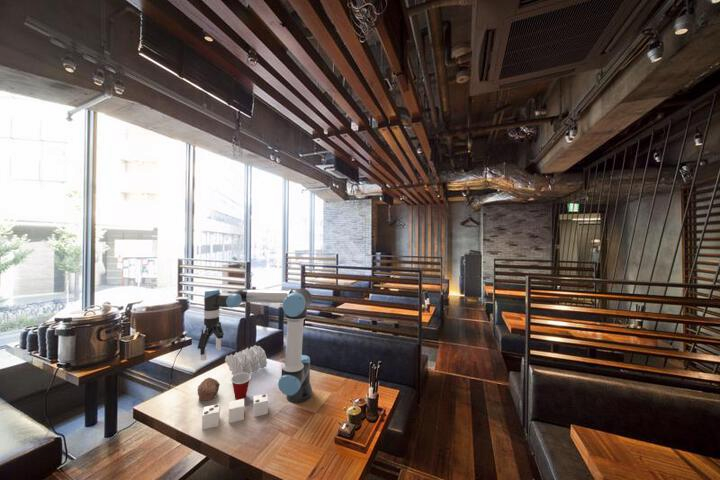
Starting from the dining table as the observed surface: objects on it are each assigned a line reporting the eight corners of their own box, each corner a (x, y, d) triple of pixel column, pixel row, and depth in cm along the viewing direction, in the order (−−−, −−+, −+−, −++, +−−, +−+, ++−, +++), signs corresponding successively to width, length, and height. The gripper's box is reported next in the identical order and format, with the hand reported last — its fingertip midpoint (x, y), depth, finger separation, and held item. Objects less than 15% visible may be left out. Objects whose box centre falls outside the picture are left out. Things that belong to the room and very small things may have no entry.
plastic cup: (236, 405, 146) (237, 384, 146) (226, 398, 153) (227, 377, 153) (254, 396, 155) (255, 376, 155) (244, 390, 162) (245, 370, 162)
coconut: (200, 392, 158) (200, 375, 158) (221, 389, 162) (221, 373, 162) (194, 405, 146) (194, 387, 146) (216, 402, 149) (217, 384, 149)
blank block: (243, 411, 142) (244, 398, 142) (243, 419, 136) (244, 406, 136) (229, 414, 139) (229, 401, 139) (228, 423, 133) (229, 409, 133)
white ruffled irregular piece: (266, 374, 189) (233, 388, 167) (252, 357, 197) (220, 369, 176) (275, 353, 185) (243, 365, 164) (261, 337, 194) (229, 347, 173)
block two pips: (266, 406, 147) (266, 393, 147) (267, 413, 140) (268, 400, 140) (253, 409, 144) (253, 396, 144) (253, 417, 138) (253, 403, 138)
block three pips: (219, 417, 137) (219, 403, 137) (218, 425, 131) (218, 411, 131) (203, 420, 134) (204, 406, 134) (201, 429, 128) (202, 415, 128)
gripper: (218, 310, 161) (217, 345, 161) (189, 323, 136) (189, 364, 136) (230, 311, 161) (229, 345, 161) (203, 324, 136) (203, 365, 136)
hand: (211, 354), depth 148 cm, fingers open, 13 cm apart
